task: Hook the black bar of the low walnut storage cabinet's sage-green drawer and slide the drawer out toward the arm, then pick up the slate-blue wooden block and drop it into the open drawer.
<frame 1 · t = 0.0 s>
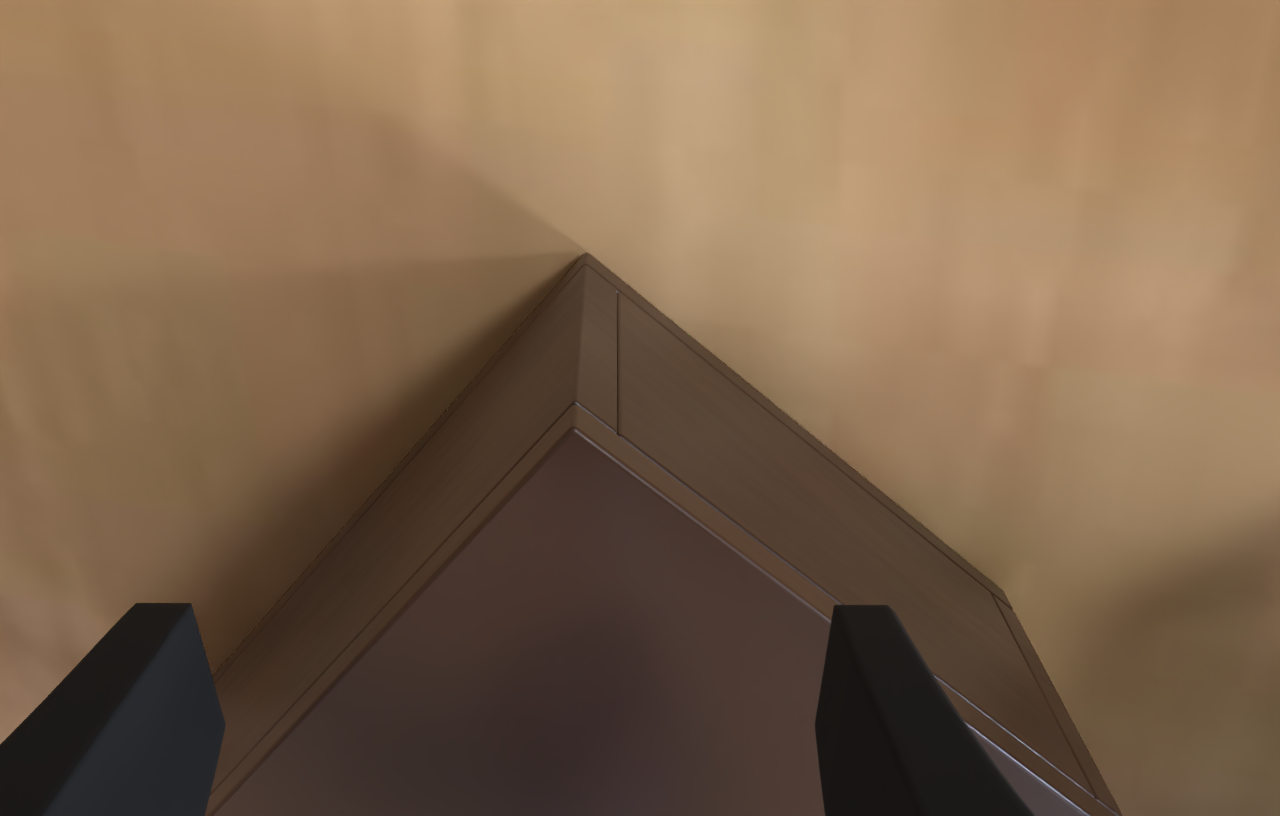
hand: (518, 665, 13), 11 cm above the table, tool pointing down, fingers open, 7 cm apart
cabinet: (599, 638, 26), on the table
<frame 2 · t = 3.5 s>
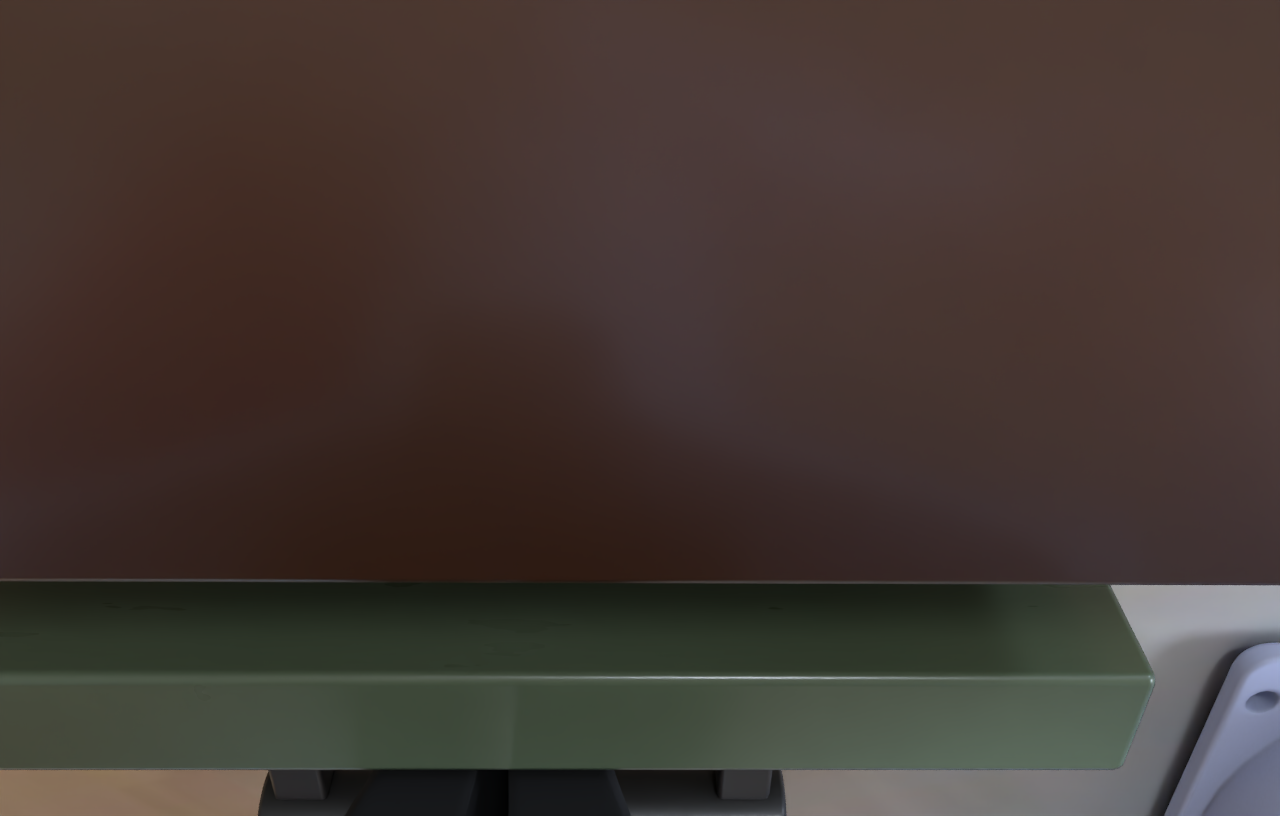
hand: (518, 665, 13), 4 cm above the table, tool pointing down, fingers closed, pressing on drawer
drawer: (497, 189, 10), point 4 cm above the table, slide at 1.9 cm, touching gripper
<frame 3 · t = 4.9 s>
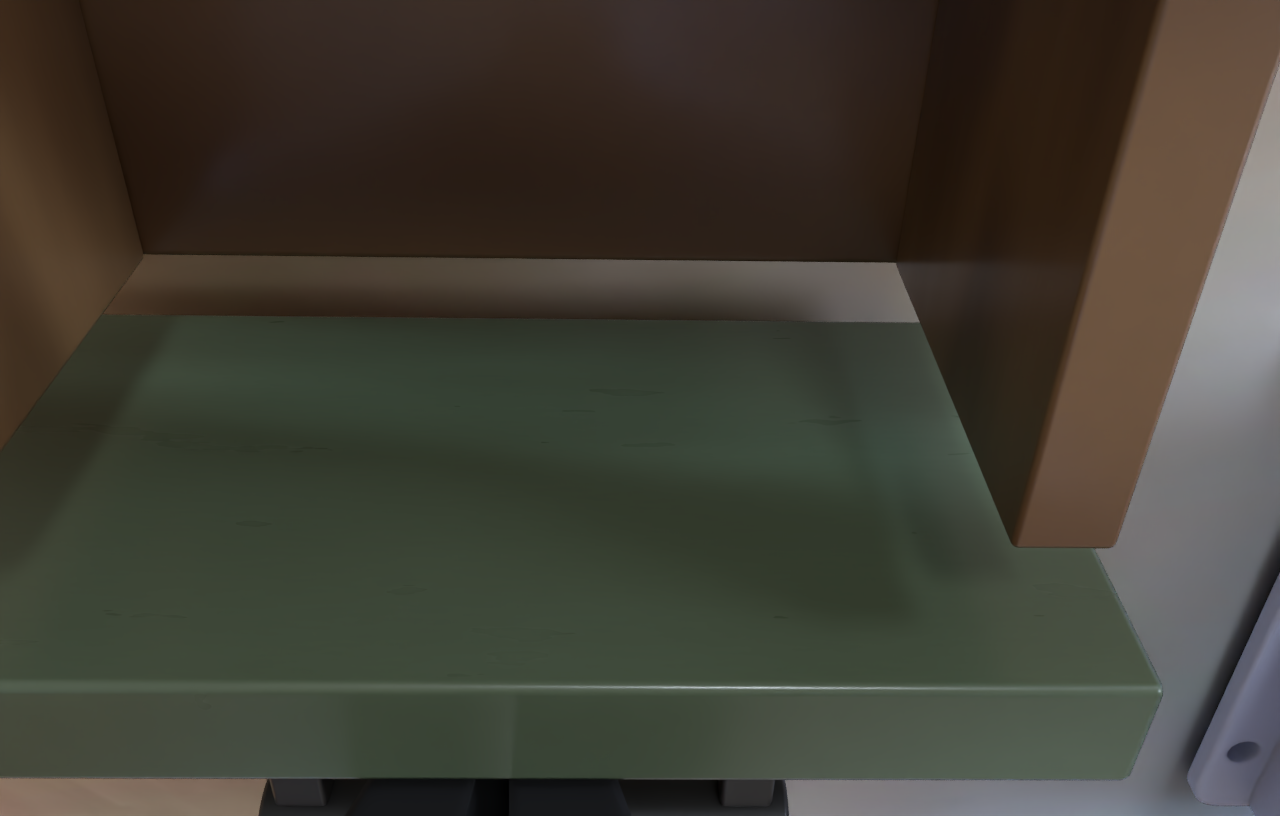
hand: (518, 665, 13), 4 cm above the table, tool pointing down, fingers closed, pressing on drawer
drawer: (501, 193, 10), point 4 cm above the table, slide at 7.7 cm, touching gripper
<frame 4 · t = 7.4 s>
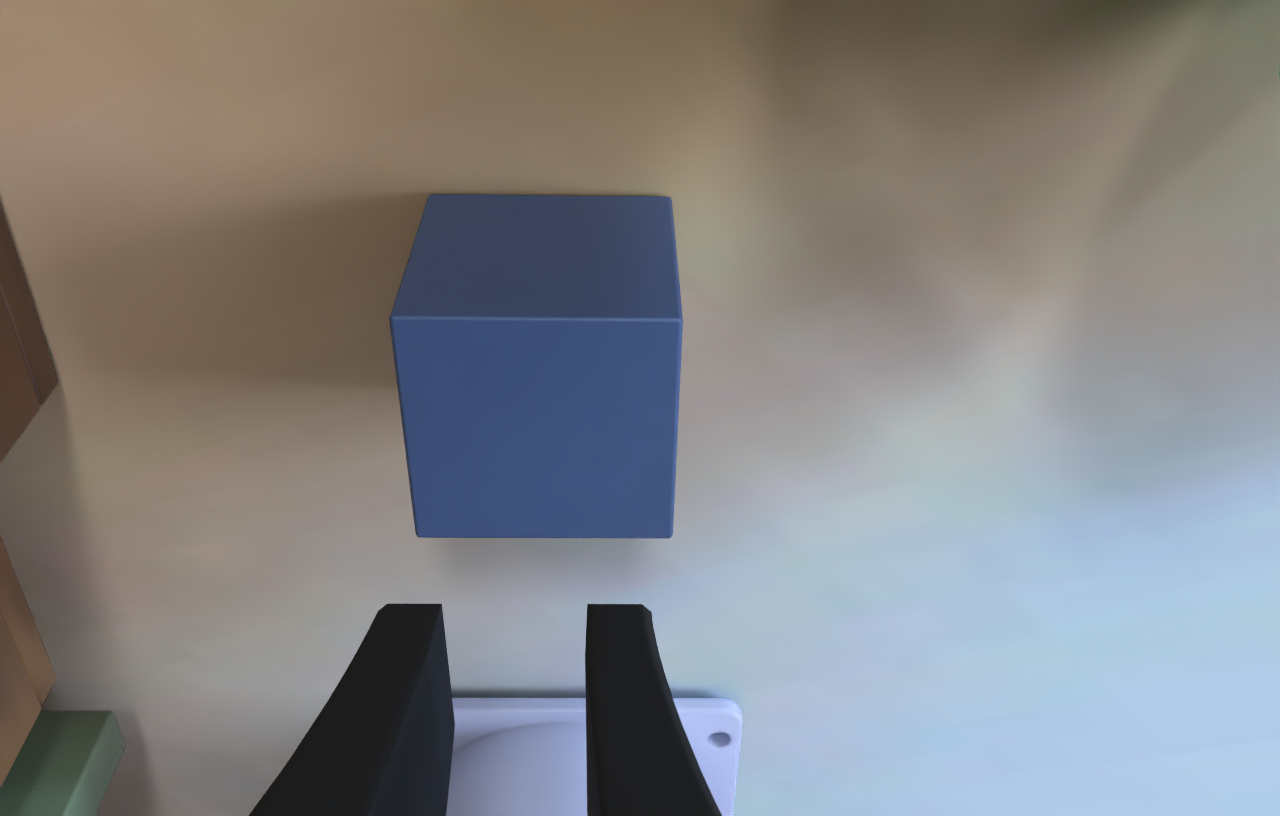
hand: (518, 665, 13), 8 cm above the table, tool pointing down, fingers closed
block: (553, 299, 20), on the table
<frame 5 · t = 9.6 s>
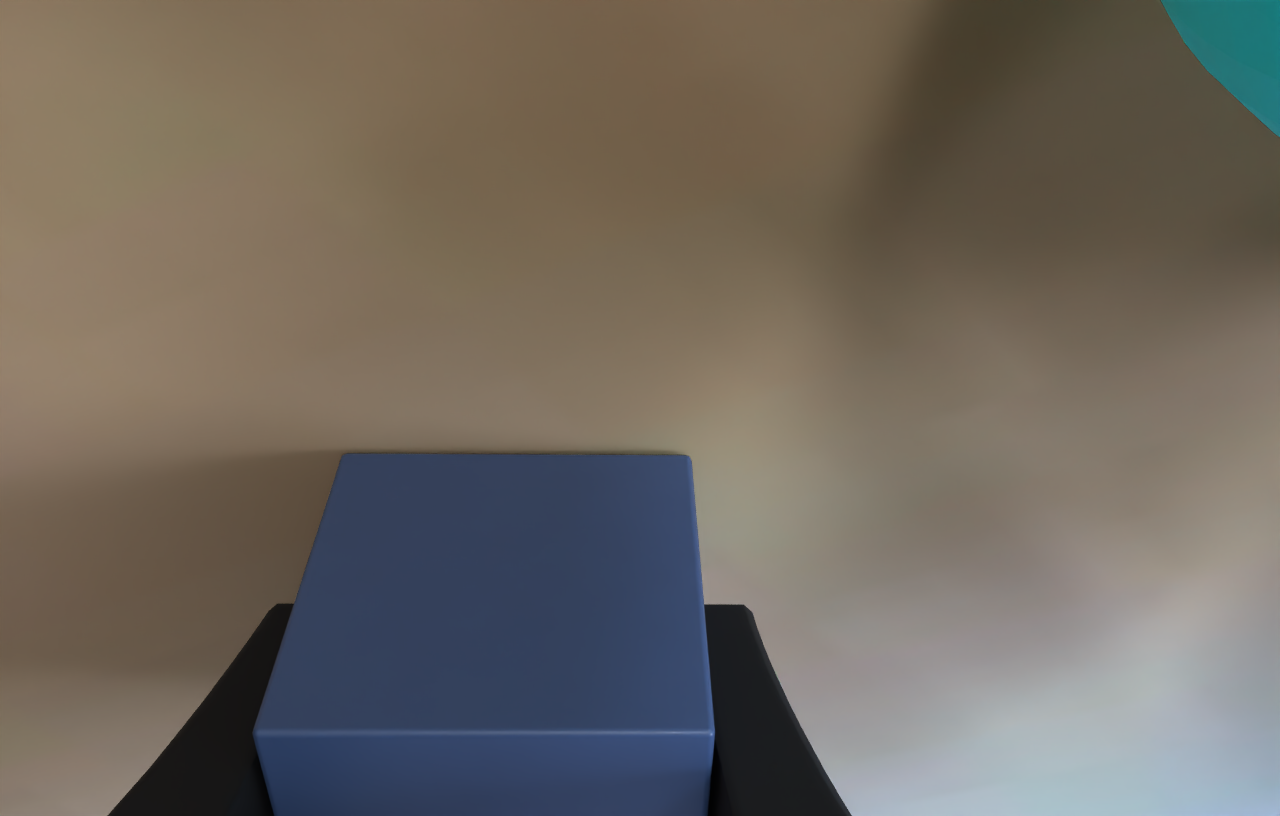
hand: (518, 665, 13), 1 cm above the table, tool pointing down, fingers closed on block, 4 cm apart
block: (523, 579, 14), on the table, touching gripper
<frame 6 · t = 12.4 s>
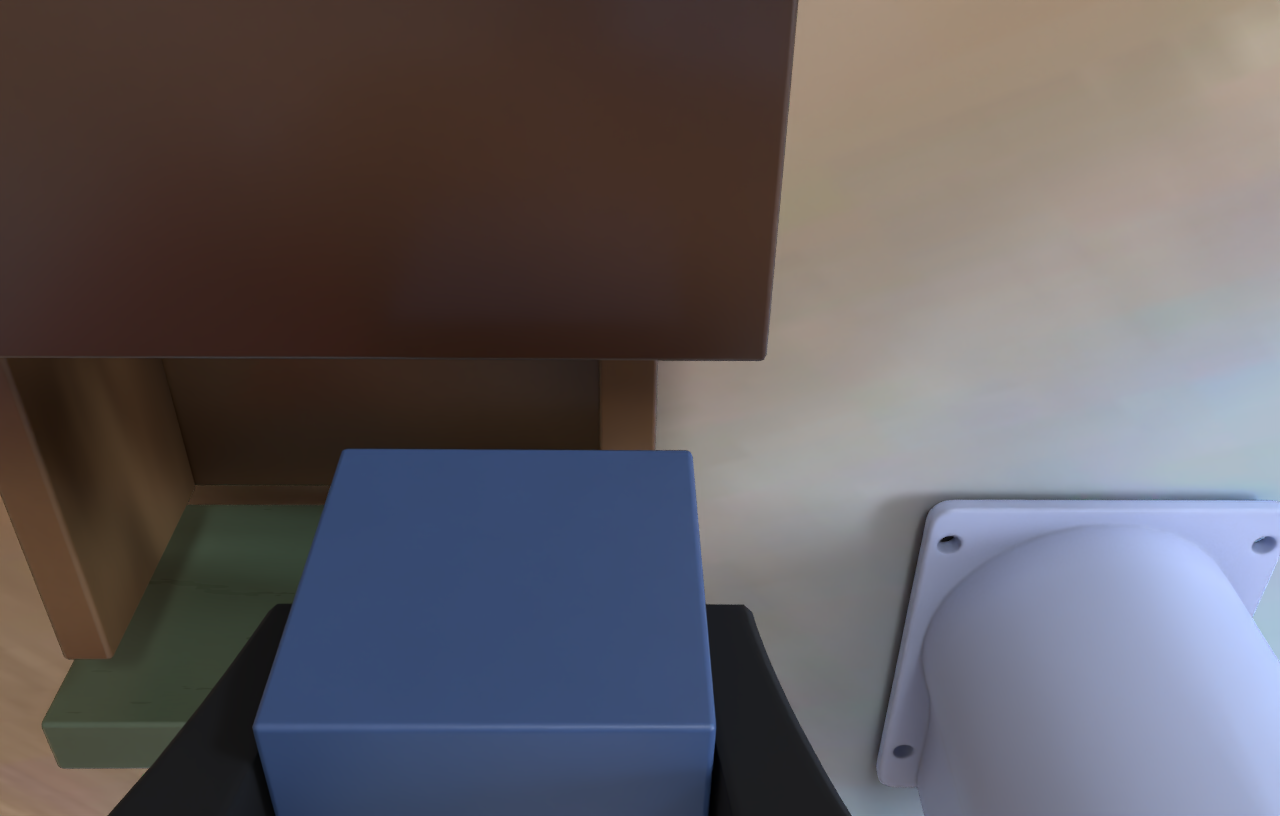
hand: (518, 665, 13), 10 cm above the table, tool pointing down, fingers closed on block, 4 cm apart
block: (524, 575, 14), point 9 cm above the table, touching gripper
drawer: (375, 480, 20), point 4 cm above the table, slide at 7.8 cm
when the fingers open (5 cm above the table, at t = 15.4 s): block stays where it is, resting on drawer.
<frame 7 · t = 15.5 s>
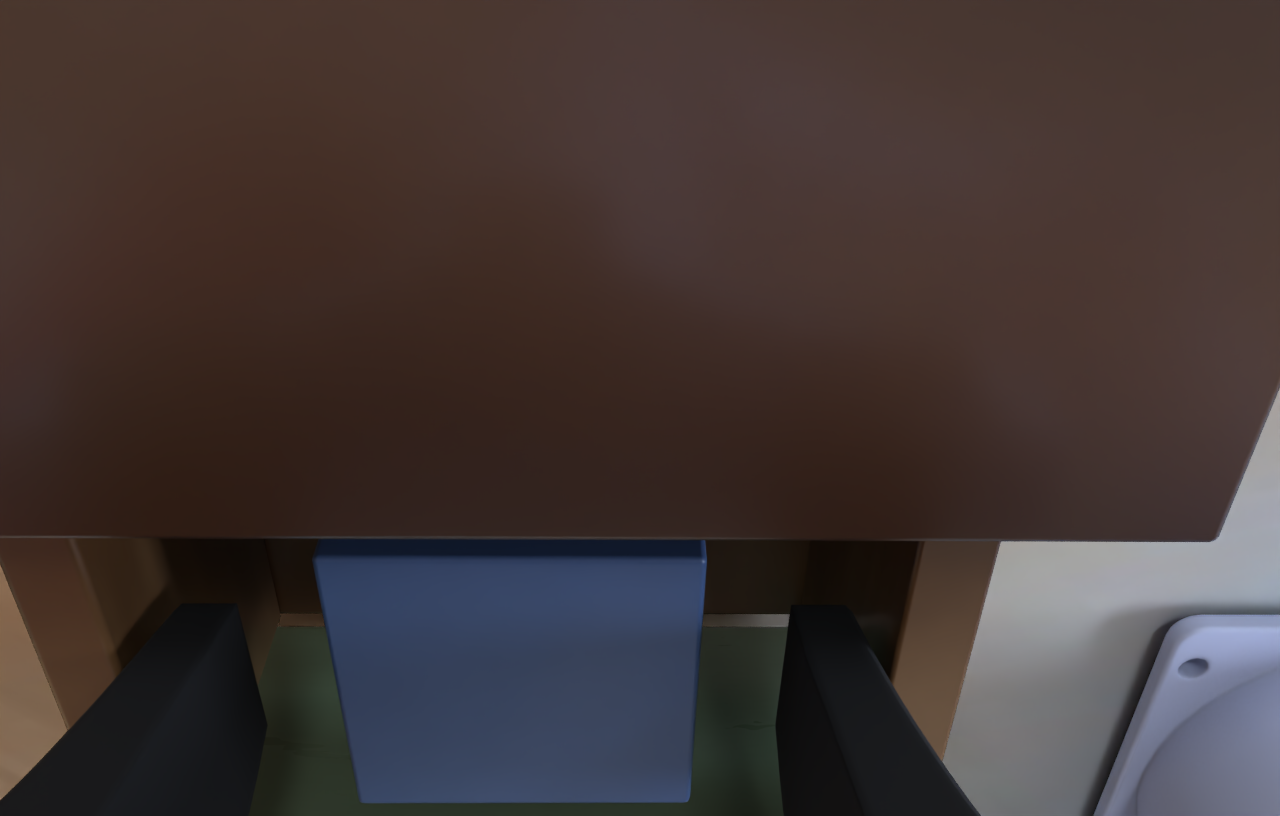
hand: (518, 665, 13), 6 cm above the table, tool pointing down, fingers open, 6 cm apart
block: (537, 470, 16), point 2 cm above the table, touching drawer
drawer: (531, 628, 15), point 4 cm above the table, slide at 7.8 cm, touching block
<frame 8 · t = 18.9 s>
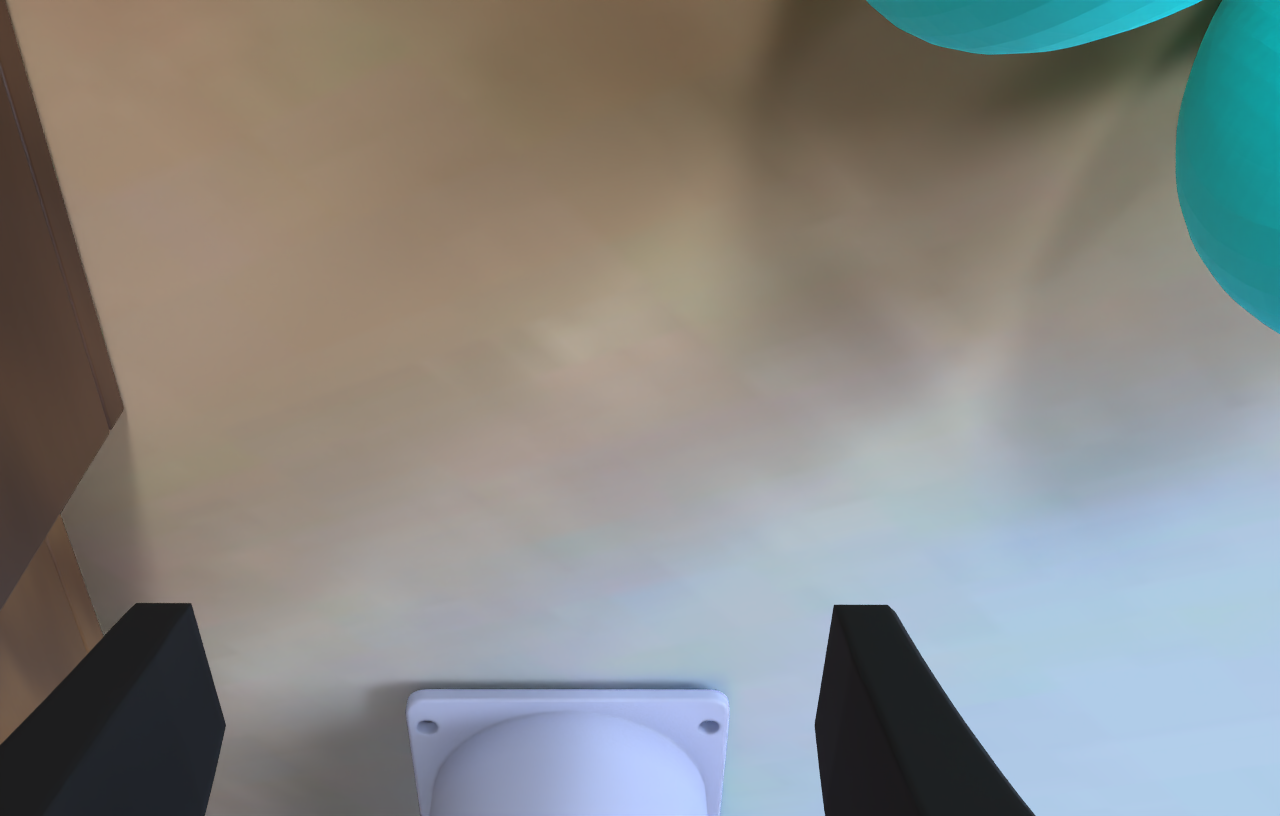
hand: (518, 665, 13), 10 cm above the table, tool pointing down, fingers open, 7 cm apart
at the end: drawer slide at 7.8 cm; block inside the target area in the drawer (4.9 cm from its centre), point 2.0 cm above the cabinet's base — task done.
